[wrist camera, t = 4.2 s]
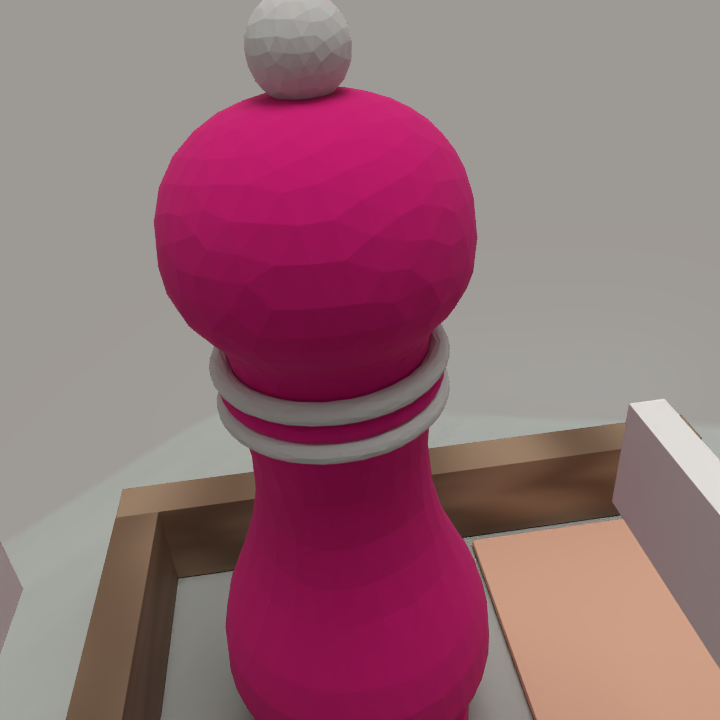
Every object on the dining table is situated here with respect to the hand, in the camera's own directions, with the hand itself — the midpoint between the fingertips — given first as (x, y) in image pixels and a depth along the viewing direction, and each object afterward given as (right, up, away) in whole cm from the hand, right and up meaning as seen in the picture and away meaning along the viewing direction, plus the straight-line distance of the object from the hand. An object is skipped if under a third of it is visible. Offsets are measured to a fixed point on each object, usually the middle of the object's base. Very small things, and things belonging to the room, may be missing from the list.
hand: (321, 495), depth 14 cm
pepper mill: (+1, -8, +7) cm, 11 cm away
